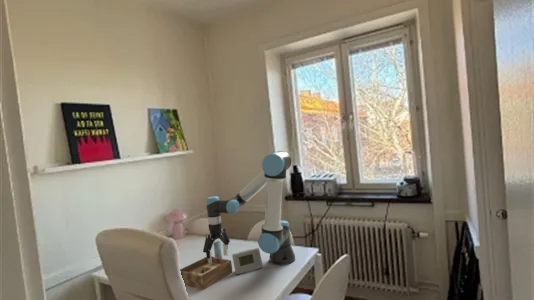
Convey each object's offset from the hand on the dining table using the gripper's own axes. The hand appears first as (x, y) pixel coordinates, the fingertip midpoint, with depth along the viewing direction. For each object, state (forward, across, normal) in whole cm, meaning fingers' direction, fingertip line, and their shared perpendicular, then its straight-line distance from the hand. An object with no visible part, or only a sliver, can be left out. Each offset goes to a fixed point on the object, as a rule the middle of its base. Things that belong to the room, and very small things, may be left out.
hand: (218, 259), depth 189 cm
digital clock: (+4, -3, +20) cm, 21 cm away
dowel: (+4, 0, 0) cm, 4 cm away
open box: (+4, +15, +5) cm, 16 cm away
